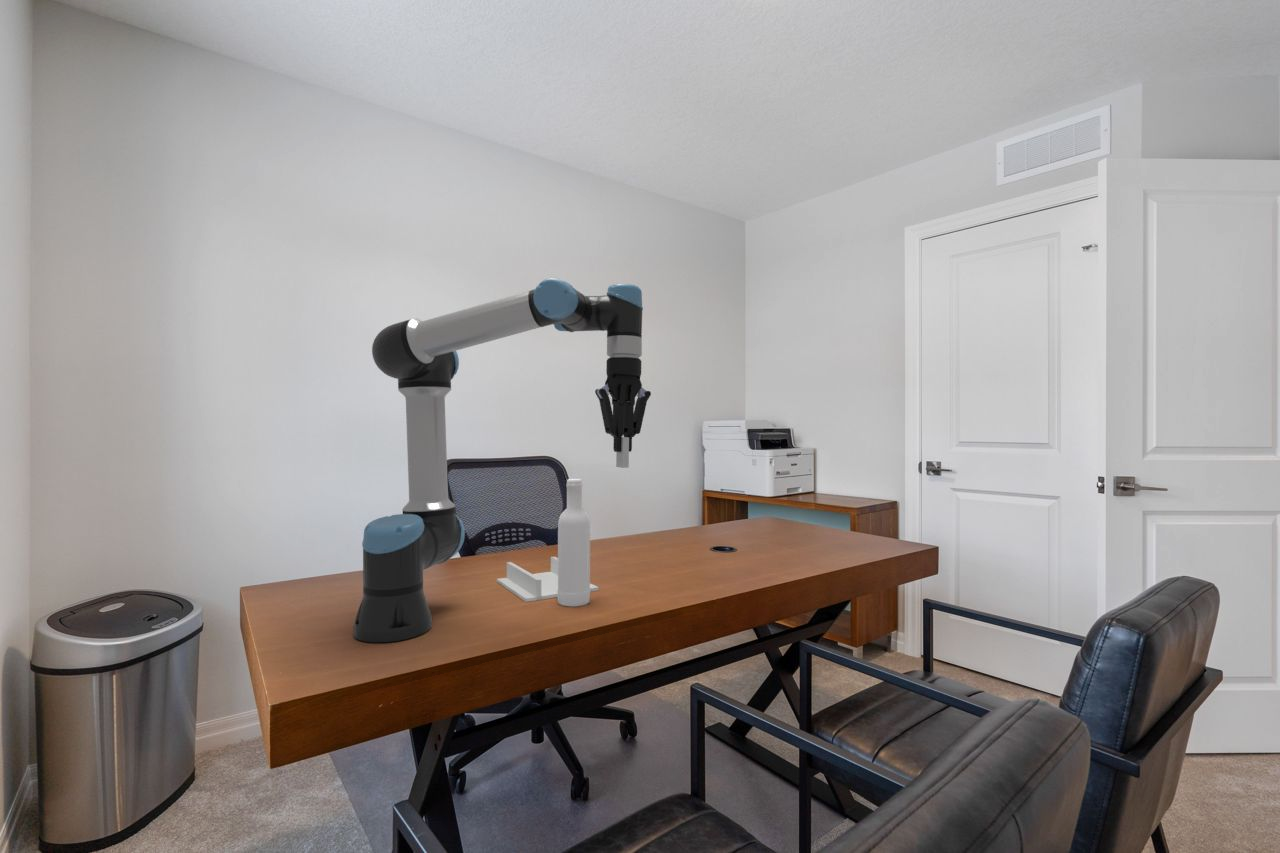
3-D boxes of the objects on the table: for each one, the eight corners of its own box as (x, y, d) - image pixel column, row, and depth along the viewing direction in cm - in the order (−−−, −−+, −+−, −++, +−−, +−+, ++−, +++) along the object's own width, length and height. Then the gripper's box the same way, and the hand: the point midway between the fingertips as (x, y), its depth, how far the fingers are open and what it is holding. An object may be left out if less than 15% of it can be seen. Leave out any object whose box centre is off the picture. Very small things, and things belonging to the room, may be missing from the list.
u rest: (598, 590, 155) (598, 571, 155) (526, 602, 145) (526, 581, 145) (563, 572, 174) (563, 555, 174) (496, 581, 163) (496, 563, 163)
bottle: (588, 607, 141) (588, 480, 141) (555, 606, 141) (555, 480, 141) (591, 597, 149) (592, 477, 149) (560, 597, 149) (560, 477, 149)
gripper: (640, 361, 134) (638, 465, 135) (589, 357, 127) (587, 466, 128) (658, 358, 128) (657, 467, 128) (606, 354, 121) (604, 469, 121)
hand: (622, 467), depth 128 cm, fingers closed
